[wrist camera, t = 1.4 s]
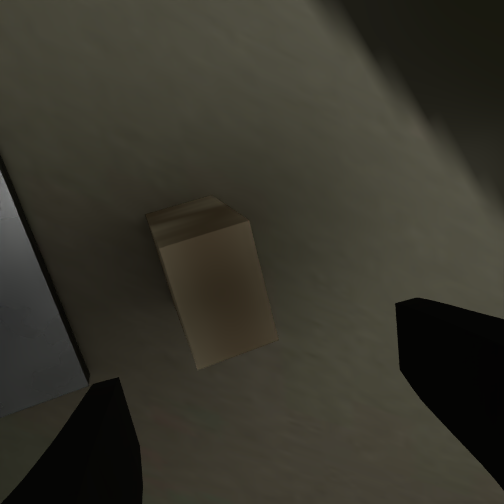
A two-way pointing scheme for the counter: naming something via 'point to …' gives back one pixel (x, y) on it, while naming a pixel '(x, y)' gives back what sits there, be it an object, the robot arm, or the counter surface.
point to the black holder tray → (31, 318)
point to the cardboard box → (213, 278)
